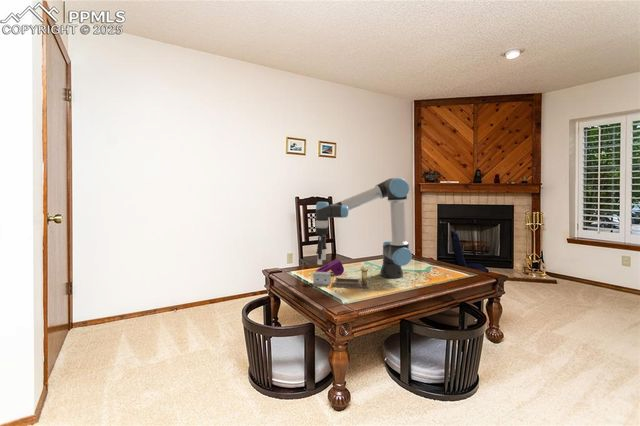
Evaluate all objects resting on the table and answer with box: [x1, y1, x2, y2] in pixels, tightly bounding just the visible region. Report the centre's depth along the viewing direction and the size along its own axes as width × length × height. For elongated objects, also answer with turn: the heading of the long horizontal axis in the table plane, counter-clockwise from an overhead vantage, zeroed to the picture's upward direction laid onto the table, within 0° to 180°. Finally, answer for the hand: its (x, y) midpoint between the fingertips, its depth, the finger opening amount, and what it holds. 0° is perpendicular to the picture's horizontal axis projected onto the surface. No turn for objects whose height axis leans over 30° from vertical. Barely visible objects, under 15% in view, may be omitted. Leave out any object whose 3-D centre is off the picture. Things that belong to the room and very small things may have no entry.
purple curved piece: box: [315, 258, 345, 276], centre depth 225 cm, size 9×8×18 cm
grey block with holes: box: [312, 271, 332, 286], centre depth 201 cm, size 10×5×7 cm, turn 81°
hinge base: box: [333, 267, 369, 290], centre depth 199 cm, size 20×12×10 cm, turn 81°
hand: (321, 262), depth 200 cm, fingers open, 13 cm apart
